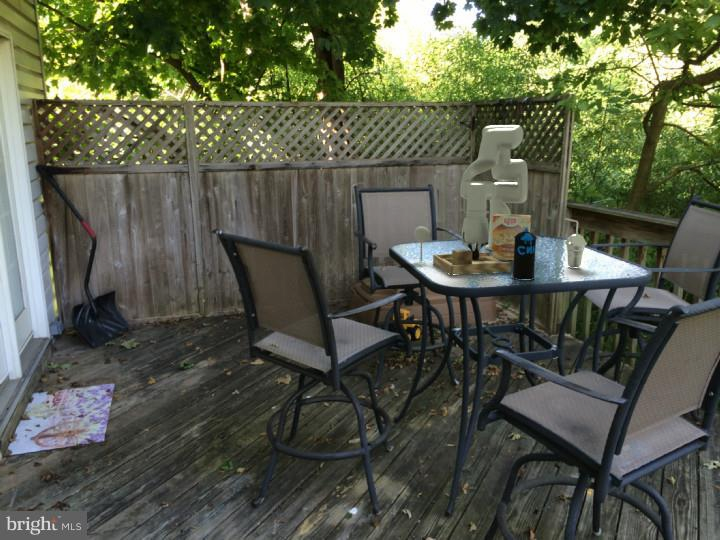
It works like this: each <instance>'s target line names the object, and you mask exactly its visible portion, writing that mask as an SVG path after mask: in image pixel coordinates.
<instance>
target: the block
mask: <svg viewBox="0 0 720 540" xmlns="http://www.w3.org/2000/svg"><path fill="white" fill-rule="evenodd" d="M451 251H452V253H451V254H452V264H453V265H465V264H472V251H471V250H470V249H469V248H468V249H467V248H457V249H455V248H454V249H452V250H451Z"/></svg>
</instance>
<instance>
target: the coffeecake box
mask: <svg viewBox="0 0 720 540" xmlns="http://www.w3.org/2000/svg"><path fill="white" fill-rule="evenodd" d="M531 221H532V215H530V214H514V213H513V214H512V213H511V214H495V215H493V235H492V250H491V257H493V258H495V259H497V260H499V261H508V260H514V244H515V238H514V237H515V236H516V235H517V234H518V233H520V232H523V226H529V230H528V232H530V233H531V225H532V222H531Z"/></svg>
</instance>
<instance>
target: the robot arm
mask: <svg viewBox="0 0 720 540" xmlns="http://www.w3.org/2000/svg"><path fill="white" fill-rule="evenodd" d="M481 132H482V133H481V134H482V136H481V142H480V146H479V150H478V151H479V152H478V156H477V159H475V161H472V163H471V164H469V166H467V168H466V169H465V170H464V172H463V175H462V179H461V182H460V189H459V193H460V197H461V198H462V199H465V200H466V217H464V219H463V222H462V227H461V228H462V229H461V241H462V243H461V246H464V247H467V248H468V249H469V250H470V251H472V260H474V261H475V260H478V258H479V252H480V251H481V249H483V247H485V249H486V250H488V251H492V235H493V215H495V214H512V213H511V209H510V208H509V207H508V205H507V204H510V203H511V204H523V203H525V202H526V201H527V199H528V190H529V189H528V183H529V182H528V181H529V180H528V164H527V162H526V161H525V160H524V159H514V158H513V159H512V158H511V150H515V149H516V148H517V147H519V146H520V145H521V143H522V141H523V139H524V129H523V127H522V126H521V125H518V124H517V125H516V124H508V125H507V124H505V125H503V124H499V125H498V124H497V125H496V124H494V125H493V124H492V125H487V126H484V127H483V128H482V131H481ZM489 170H490V171H491V176H492V179H494V180H496V182H493V181H489V180H486V181H484V180H473V179H474V177H476V176H477V175H479V174H481V173H485V172H487V171H489ZM512 181H513V182H512ZM487 201H489V210H487ZM488 215H489V219H488V217H487V216H488ZM488 220H489V221H488Z"/></svg>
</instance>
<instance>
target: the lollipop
mask: <svg viewBox="0 0 720 540" xmlns="http://www.w3.org/2000/svg"><path fill="white" fill-rule="evenodd" d="M430 233H431V232H430V230H429V228H428V227H426V226H422V225H420V226H417V227H416V228H415V229H414V231H413V238H414V240H415V241H416V242H417V243H420V261H423V243H425V242H427V241H428V239H429V238H430V235H431V234H430Z"/></svg>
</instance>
